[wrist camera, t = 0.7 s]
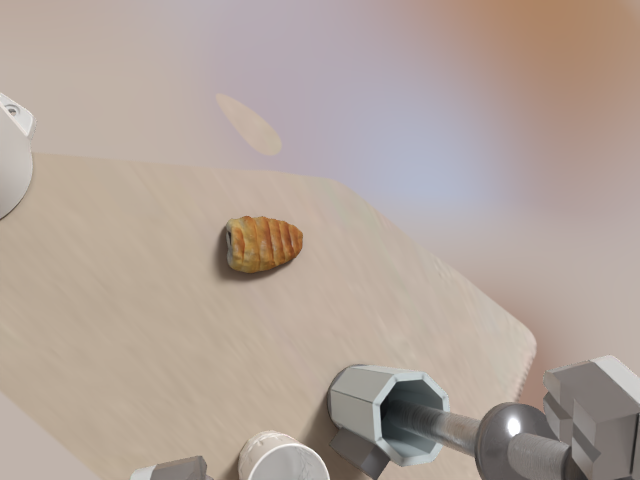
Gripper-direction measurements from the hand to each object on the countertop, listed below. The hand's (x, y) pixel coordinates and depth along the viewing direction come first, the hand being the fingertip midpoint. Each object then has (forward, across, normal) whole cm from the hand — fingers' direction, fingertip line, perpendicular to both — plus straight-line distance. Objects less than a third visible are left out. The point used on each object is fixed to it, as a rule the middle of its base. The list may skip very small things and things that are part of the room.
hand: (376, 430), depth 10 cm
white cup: (+28, +12, +32) cm, 44 cm away
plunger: (+25, -3, +27) cm, 37 cm away
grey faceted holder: (+32, +1, +32) cm, 45 cm away
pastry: (+42, +8, +12) cm, 45 cm away
